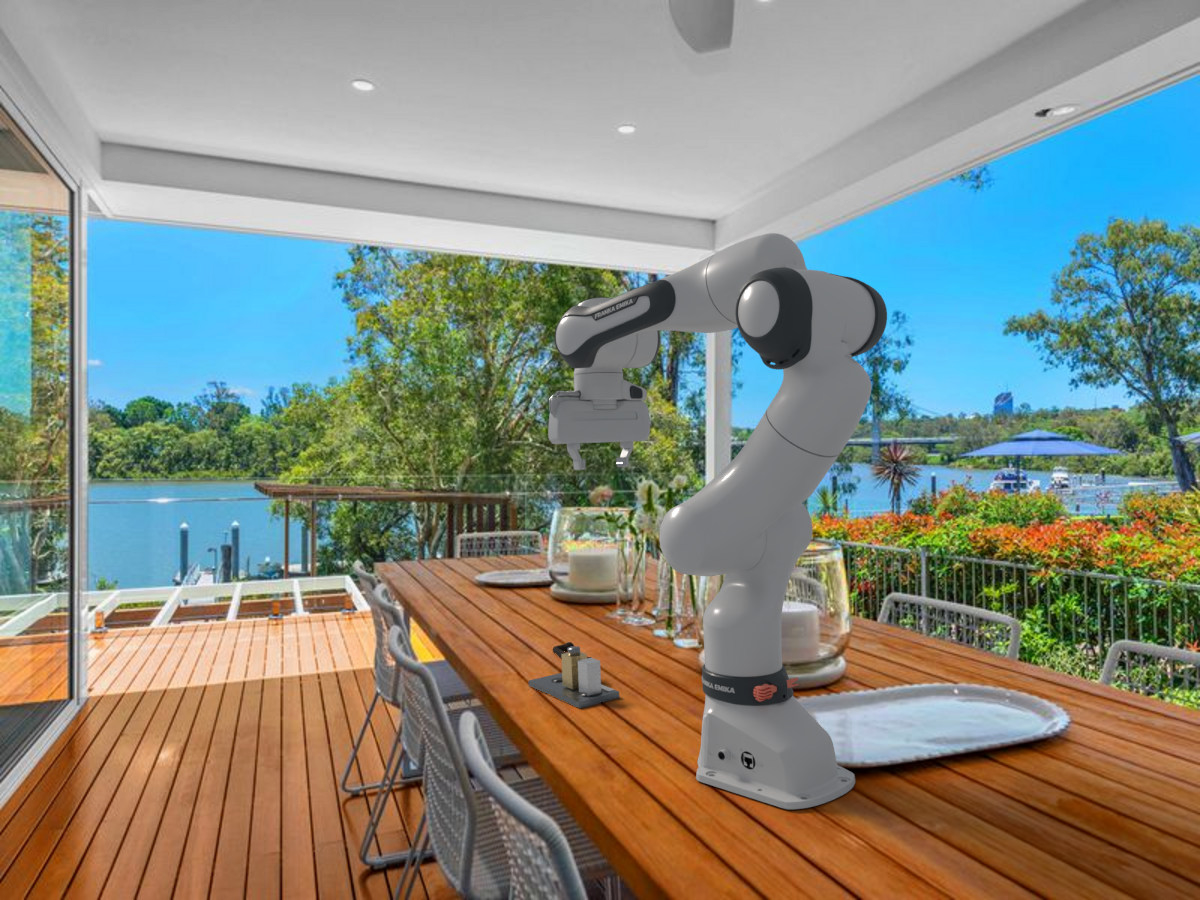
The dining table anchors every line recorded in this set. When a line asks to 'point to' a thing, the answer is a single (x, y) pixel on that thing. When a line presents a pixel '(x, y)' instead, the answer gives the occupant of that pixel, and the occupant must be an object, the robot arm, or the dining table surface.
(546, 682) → the bolt plate
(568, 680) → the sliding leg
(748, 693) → the robot arm
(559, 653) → the wrench
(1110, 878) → the dining table surface
